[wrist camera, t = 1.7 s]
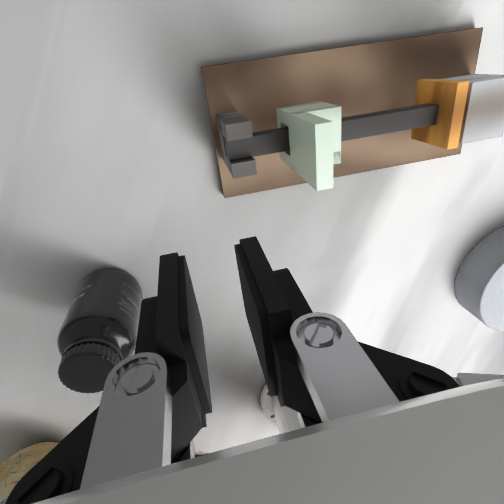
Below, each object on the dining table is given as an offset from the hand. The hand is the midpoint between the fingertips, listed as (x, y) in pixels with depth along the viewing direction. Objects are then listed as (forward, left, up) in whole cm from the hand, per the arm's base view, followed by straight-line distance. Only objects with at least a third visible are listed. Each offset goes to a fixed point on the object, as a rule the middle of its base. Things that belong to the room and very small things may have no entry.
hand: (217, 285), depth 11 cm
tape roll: (-25, -41, -26) cm, 54 cm away
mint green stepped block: (0, -10, -21) cm, 24 cm away
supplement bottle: (-15, +12, -25) cm, 32 cm away
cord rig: (0, -16, -25) cm, 30 cm away
